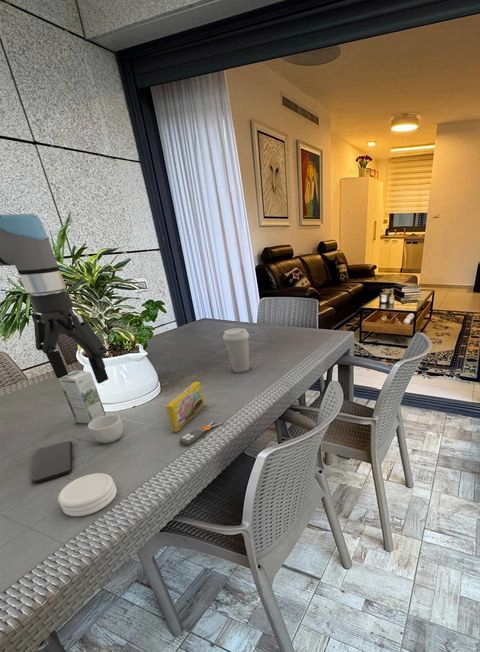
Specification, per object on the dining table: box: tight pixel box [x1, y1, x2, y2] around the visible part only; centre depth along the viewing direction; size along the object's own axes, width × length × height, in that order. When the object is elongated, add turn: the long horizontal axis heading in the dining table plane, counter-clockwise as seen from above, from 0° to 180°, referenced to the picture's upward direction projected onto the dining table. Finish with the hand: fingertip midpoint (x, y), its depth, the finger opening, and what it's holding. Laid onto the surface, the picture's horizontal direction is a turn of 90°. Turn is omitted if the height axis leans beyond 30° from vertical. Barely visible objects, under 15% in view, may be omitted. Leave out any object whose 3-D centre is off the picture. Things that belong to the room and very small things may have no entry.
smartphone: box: [31, 440, 73, 484], centre depth 87 cm, size 8×1×16 cm
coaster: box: [57, 472, 118, 517], centre depth 74 cm, size 10×10×4 cm
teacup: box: [87, 413, 124, 444], centre depth 95 cm, size 10×8×5 cm
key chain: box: [179, 421, 224, 446], centre depth 96 cm, size 13×4×2 cm, turn 151°
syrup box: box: [57, 370, 107, 424], centre depth 102 cm, size 6×6×14 cm
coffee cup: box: [222, 327, 251, 373], centre depth 133 cm, size 10×10×15 cm
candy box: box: [165, 381, 205, 433], centre depth 102 cm, size 16×2×8 cm, turn 170°
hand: (82, 378), depth 90 cm, fingers open, 13 cm apart
